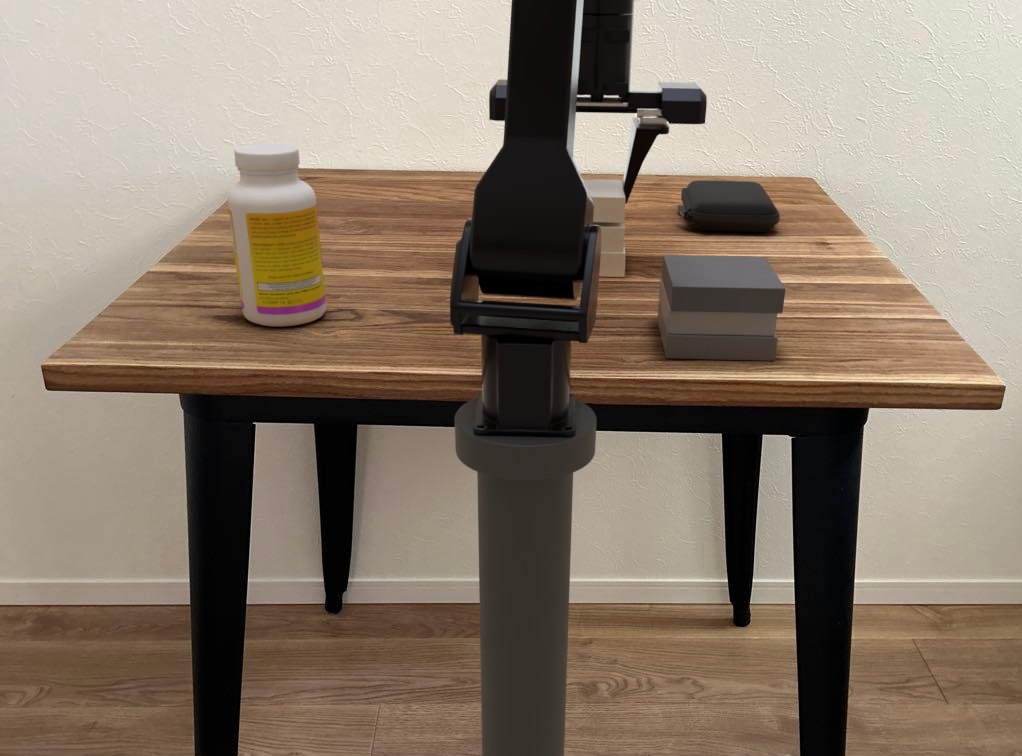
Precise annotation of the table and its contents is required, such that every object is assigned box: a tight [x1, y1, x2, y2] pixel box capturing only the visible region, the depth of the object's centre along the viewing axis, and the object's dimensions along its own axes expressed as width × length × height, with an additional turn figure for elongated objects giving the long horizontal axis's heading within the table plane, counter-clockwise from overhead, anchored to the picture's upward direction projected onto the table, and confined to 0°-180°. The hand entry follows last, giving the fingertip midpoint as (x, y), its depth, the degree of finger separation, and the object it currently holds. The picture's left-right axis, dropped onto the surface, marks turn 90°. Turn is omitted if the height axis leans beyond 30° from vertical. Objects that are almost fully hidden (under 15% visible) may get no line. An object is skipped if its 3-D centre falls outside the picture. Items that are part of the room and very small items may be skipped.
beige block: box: [593, 222, 627, 278], centre depth 99 cm, size 9×6×4 cm
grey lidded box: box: [656, 254, 787, 362], centre depth 80 cm, size 9×8×5 cm
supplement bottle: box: [226, 143, 327, 328], centre depth 82 cm, size 7×7×13 cm
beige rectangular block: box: [582, 178, 626, 224], centre depth 97 cm, size 8×6×2 cm
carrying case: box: [676, 179, 781, 233], centre depth 116 cm, size 11×3×15 cm
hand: (593, 202), depth 97 cm, fingers closed on beige rectangular block, 5 cm apart
